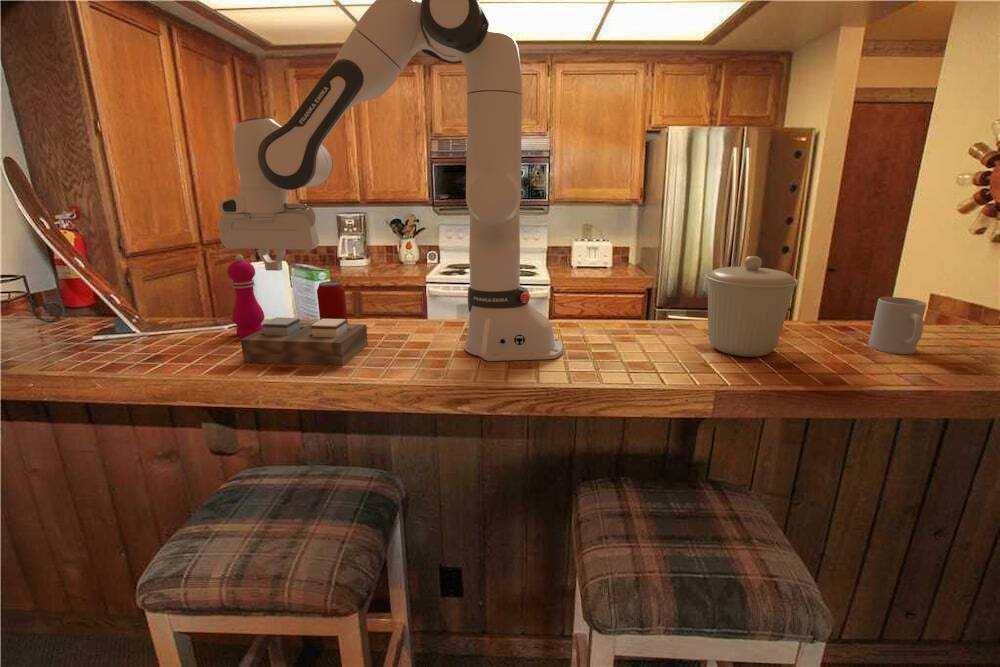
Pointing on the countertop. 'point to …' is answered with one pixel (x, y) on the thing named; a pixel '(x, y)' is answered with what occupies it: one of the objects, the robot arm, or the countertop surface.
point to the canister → (747, 307)
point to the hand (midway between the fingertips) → (274, 270)
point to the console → (305, 346)
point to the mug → (897, 325)
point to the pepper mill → (245, 298)
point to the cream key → (329, 328)
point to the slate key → (282, 326)
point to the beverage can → (331, 300)
